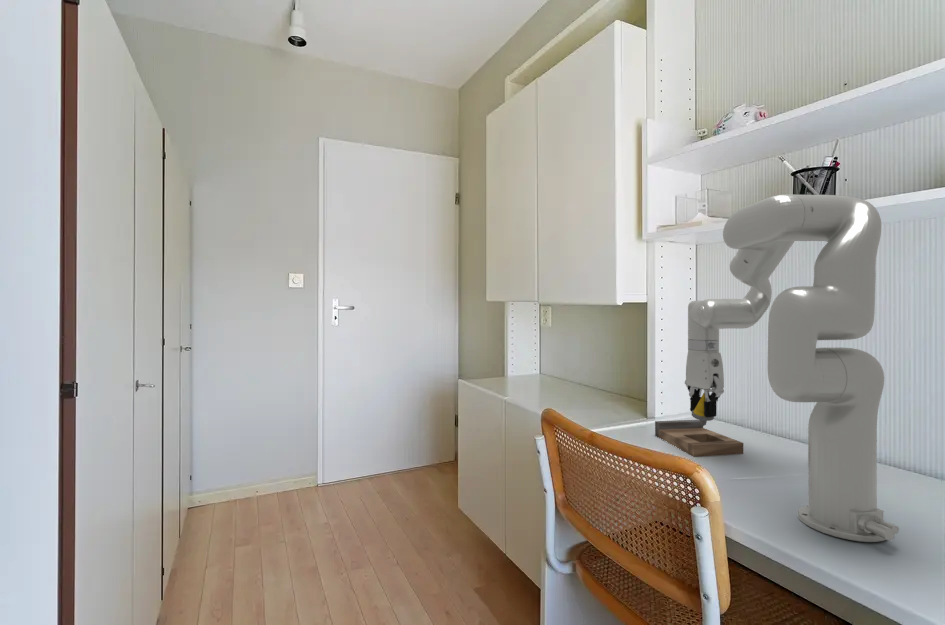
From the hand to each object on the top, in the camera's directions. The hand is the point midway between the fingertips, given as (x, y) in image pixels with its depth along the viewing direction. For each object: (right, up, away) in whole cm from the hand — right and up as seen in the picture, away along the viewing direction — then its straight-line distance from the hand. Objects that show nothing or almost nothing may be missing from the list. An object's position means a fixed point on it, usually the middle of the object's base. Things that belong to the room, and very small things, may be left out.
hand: (703, 413), depth 124 cm
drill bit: (0, -4, +1) cm, 4 cm away
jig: (0, -10, +3) cm, 10 cm away
